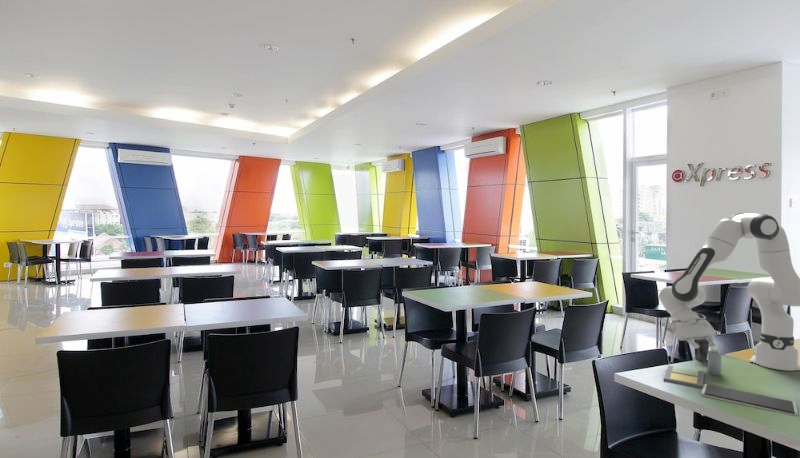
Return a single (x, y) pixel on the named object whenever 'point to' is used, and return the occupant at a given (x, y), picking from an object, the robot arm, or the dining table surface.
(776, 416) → the dining table surface
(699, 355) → the beverage cup
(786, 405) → the grey tray
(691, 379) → the colour board
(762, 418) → the dining table surface
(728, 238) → the robot arm
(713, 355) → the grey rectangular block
